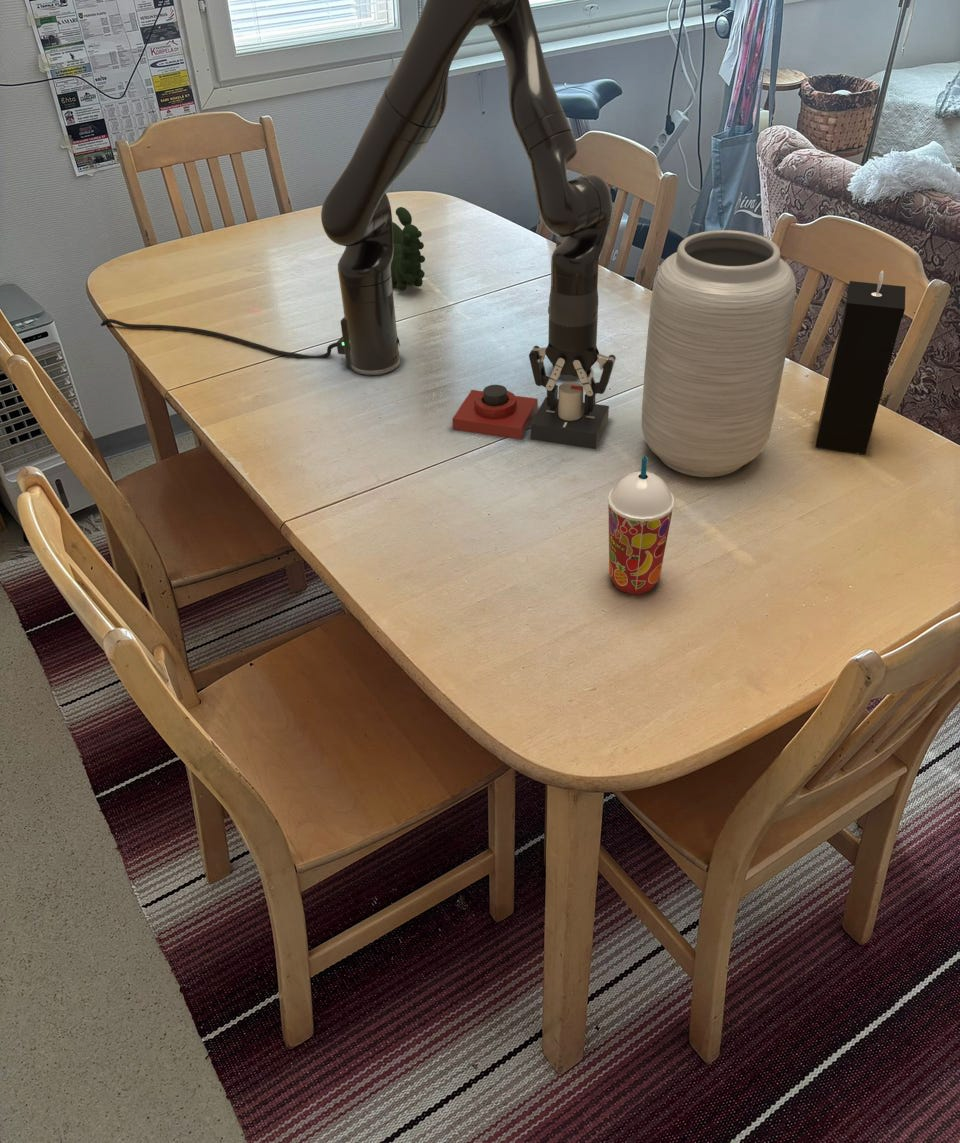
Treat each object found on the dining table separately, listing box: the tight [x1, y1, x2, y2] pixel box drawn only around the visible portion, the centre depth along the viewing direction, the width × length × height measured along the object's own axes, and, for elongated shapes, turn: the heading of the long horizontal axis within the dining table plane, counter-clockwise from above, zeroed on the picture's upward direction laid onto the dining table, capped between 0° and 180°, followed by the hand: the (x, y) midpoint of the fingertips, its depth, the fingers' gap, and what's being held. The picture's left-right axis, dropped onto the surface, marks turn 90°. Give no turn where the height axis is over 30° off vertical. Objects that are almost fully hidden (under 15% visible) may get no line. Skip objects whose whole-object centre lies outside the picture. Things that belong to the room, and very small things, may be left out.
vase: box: [641, 229, 797, 478], centre depth 144 cm, size 20×20×34 cm
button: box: [482, 384, 508, 406], centre depth 162 cm, size 4×4×2 cm
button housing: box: [452, 389, 539, 441], centre depth 163 cm, size 12×10×4 cm
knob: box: [558, 381, 584, 421], centre depth 158 cm, size 4×4×5 cm
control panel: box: [530, 396, 610, 450], centre depth 160 cm, size 11×9×3 cm
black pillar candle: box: [814, 270, 907, 455], centre depth 147 cm, size 8×8×28 cm
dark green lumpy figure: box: [391, 206, 426, 292], centre depth 205 cm, size 9×19×25 cm
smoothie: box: [607, 456, 676, 595], centre depth 125 cm, size 8×8×20 cm
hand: (570, 409), depth 159 cm, fingers open, 5 cm apart
